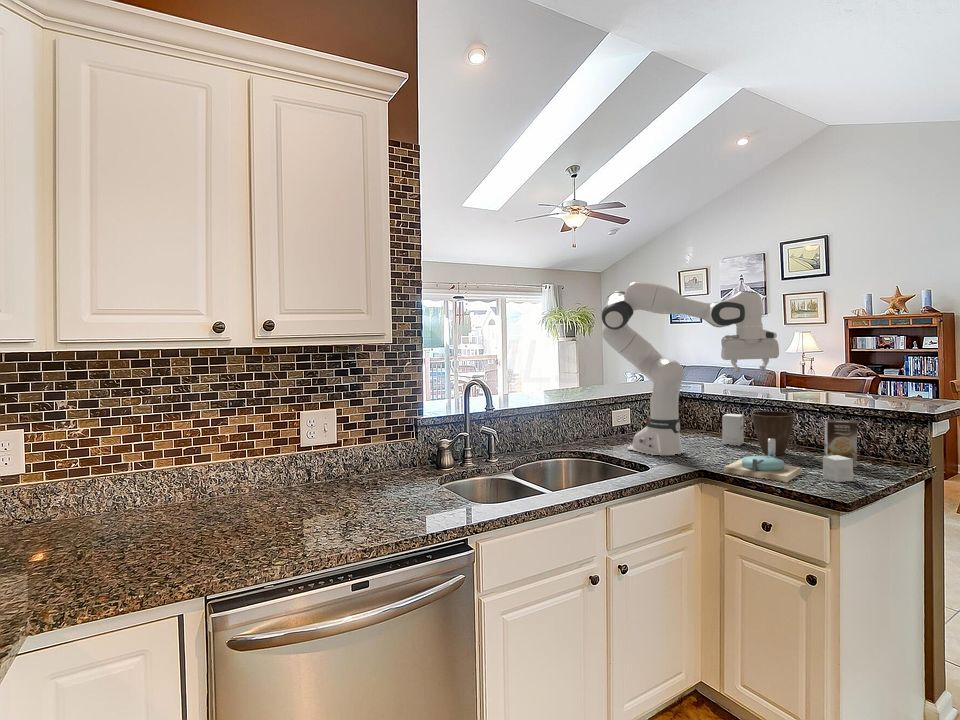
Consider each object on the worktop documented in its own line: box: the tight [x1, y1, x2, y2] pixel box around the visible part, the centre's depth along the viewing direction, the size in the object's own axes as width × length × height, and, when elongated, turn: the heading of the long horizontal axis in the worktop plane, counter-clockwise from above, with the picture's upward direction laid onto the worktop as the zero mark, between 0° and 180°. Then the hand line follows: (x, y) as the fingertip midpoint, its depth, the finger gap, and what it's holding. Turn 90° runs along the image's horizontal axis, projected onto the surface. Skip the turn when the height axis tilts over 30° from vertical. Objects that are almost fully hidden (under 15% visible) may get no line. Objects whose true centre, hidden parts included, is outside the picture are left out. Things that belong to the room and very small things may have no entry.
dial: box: [741, 439, 785, 471], centre depth 189 cm, size 17×13×8 cm
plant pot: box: [751, 410, 795, 456], centre depth 215 cm, size 15×15×16 cm
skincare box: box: [822, 455, 854, 483], centre depth 177 cm, size 6×6×7 cm
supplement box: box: [721, 413, 745, 447], centre depth 235 cm, size 7×7×13 cm
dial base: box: [723, 458, 802, 483], centre depth 188 cm, size 20×14×6 cm
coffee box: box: [823, 418, 858, 467], centre depth 194 cm, size 9×6×16 cm
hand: (749, 371), depth 202 cm, fingers open, 8 cm apart
